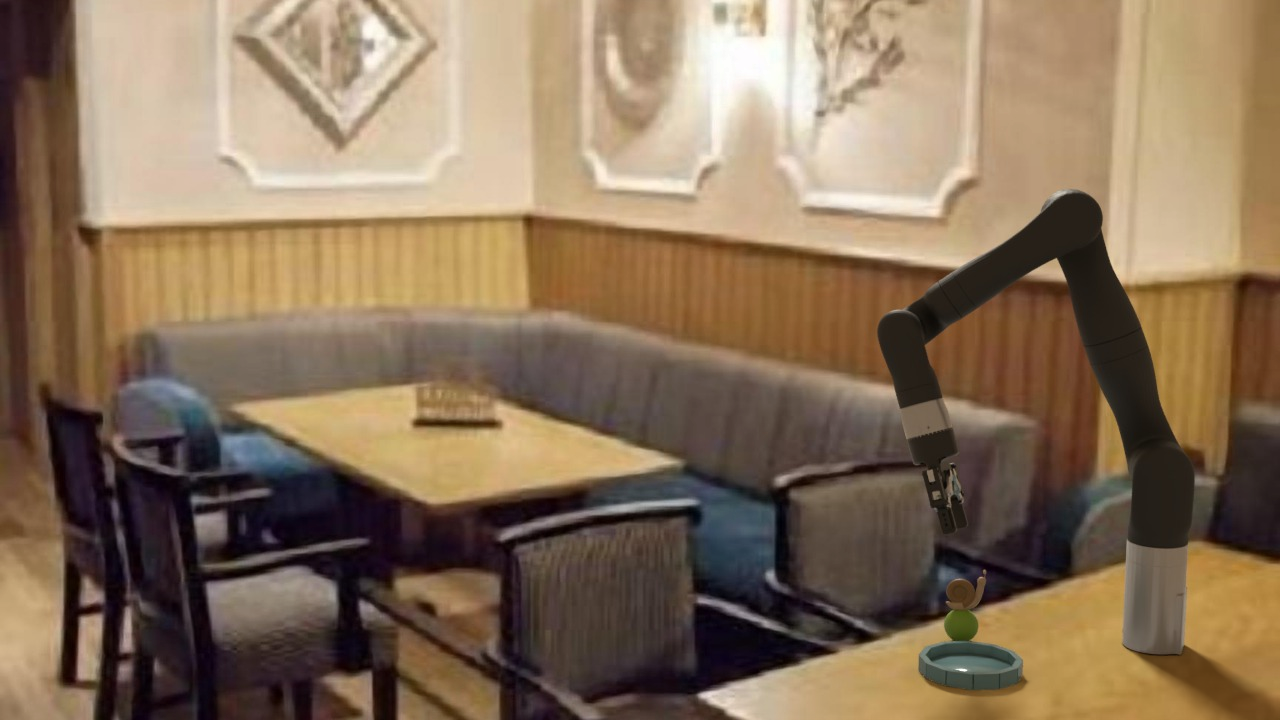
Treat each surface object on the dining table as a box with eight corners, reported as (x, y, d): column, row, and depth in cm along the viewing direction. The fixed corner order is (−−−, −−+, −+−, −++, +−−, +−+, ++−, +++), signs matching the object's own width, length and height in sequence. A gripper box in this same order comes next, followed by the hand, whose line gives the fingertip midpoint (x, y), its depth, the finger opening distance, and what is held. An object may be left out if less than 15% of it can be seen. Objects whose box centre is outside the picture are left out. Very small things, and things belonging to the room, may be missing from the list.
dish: (1029, 663, 235) (1029, 648, 235) (1010, 695, 221) (1011, 679, 221) (932, 650, 241) (933, 636, 241) (909, 680, 227) (909, 665, 227)
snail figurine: (984, 648, 242) (986, 575, 240) (943, 645, 243) (945, 573, 242) (983, 637, 247) (986, 566, 246) (943, 635, 249) (945, 563, 247)
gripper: (941, 427, 234) (970, 529, 233) (960, 423, 248) (987, 520, 246) (895, 439, 237) (923, 540, 236) (916, 435, 250) (943, 531, 249)
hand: (956, 530), depth 241 cm, fingers open, 8 cm apart
